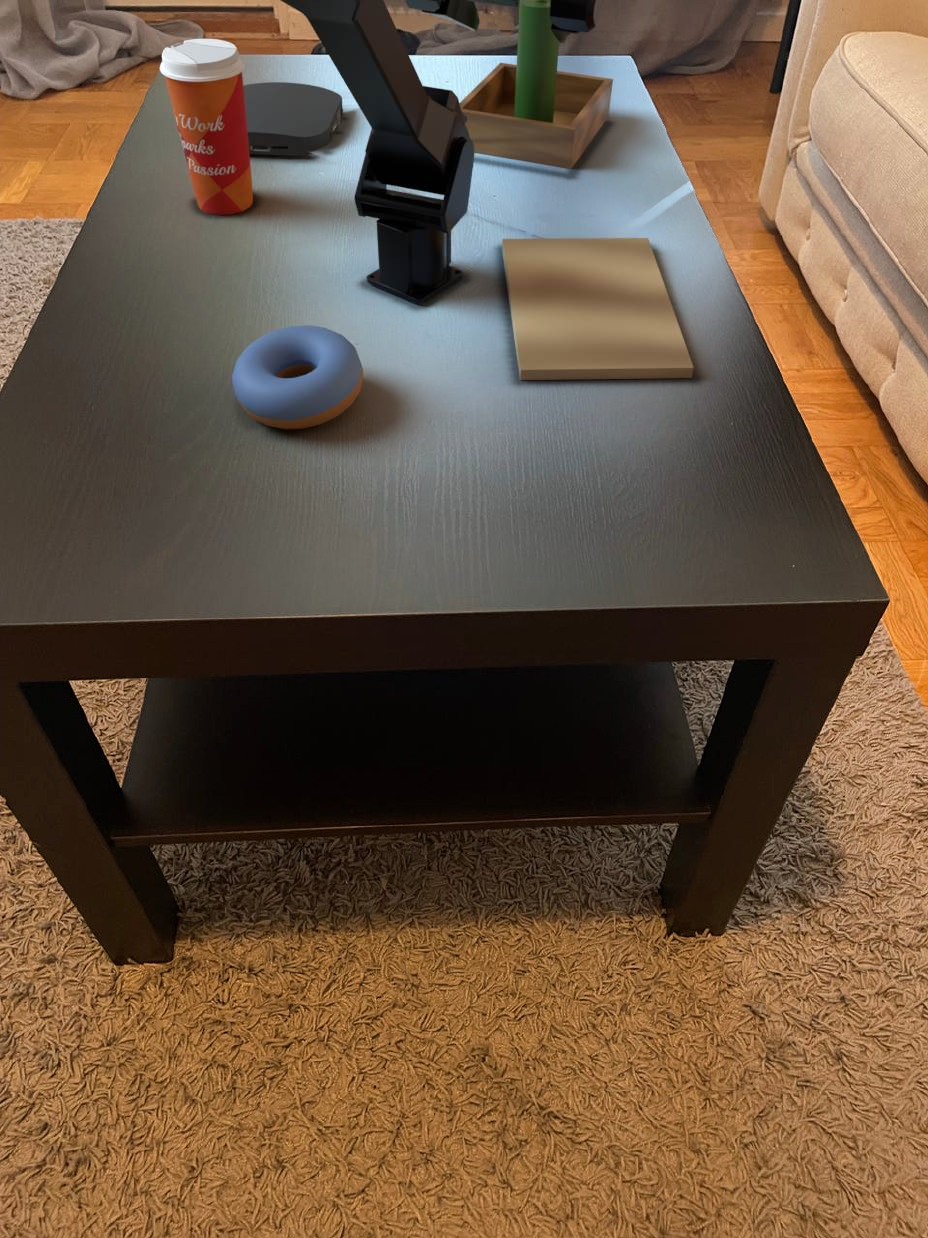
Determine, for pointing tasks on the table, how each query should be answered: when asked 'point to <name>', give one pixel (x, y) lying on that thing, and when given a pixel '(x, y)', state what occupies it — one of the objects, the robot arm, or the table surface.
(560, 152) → the wooden box
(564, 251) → the cutting board
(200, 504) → the table surface
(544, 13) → the cucumber
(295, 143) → the media streaming box
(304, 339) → the doughnut
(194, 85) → the paper cup
